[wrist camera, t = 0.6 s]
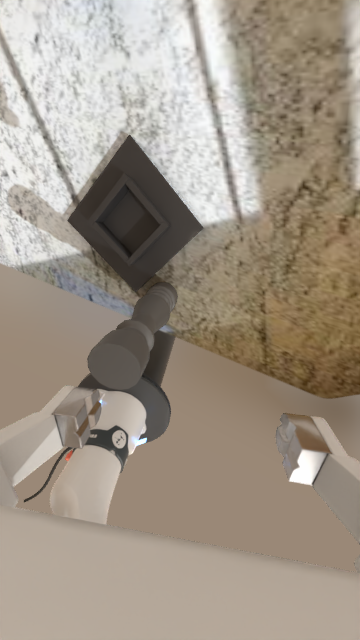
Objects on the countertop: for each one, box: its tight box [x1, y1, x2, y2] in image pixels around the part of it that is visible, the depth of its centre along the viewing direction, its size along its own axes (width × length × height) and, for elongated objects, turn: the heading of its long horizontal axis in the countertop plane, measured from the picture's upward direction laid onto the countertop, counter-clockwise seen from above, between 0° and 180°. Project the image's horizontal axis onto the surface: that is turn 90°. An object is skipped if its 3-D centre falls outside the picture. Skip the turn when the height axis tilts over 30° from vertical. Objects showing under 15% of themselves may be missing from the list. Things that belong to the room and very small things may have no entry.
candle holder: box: [88, 282, 178, 390], centre depth 32 cm, size 6×6×25 cm
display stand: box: [67, 135, 203, 292], centre depth 36 cm, size 18×18×4 cm
